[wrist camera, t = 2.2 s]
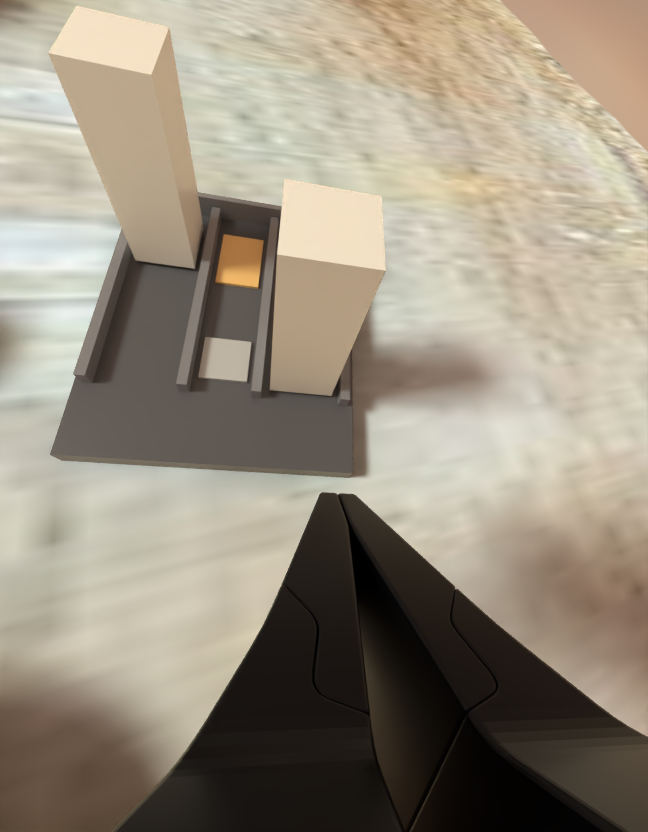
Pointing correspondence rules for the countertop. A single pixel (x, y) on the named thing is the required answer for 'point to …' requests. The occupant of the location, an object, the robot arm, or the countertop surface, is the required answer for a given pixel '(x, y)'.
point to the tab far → (134, 129)
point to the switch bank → (200, 363)
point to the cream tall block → (323, 282)
